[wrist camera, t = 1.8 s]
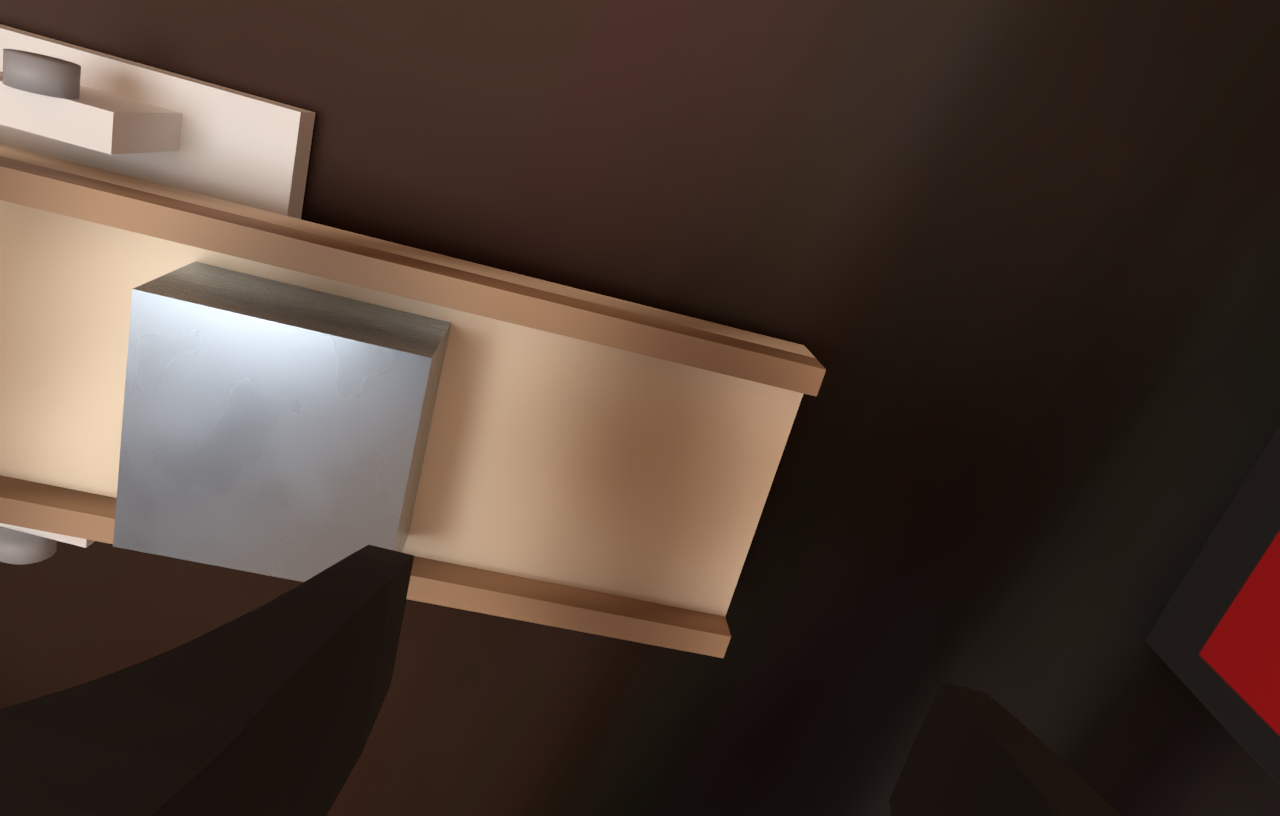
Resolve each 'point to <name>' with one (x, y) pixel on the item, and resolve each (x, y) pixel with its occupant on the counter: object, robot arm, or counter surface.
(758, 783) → the counter surface
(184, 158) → the fulcrum stand
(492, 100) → the counter surface
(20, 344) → the beam
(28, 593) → the counter surface
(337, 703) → the robot arm
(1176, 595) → the cleaning product box
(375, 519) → the steel block
